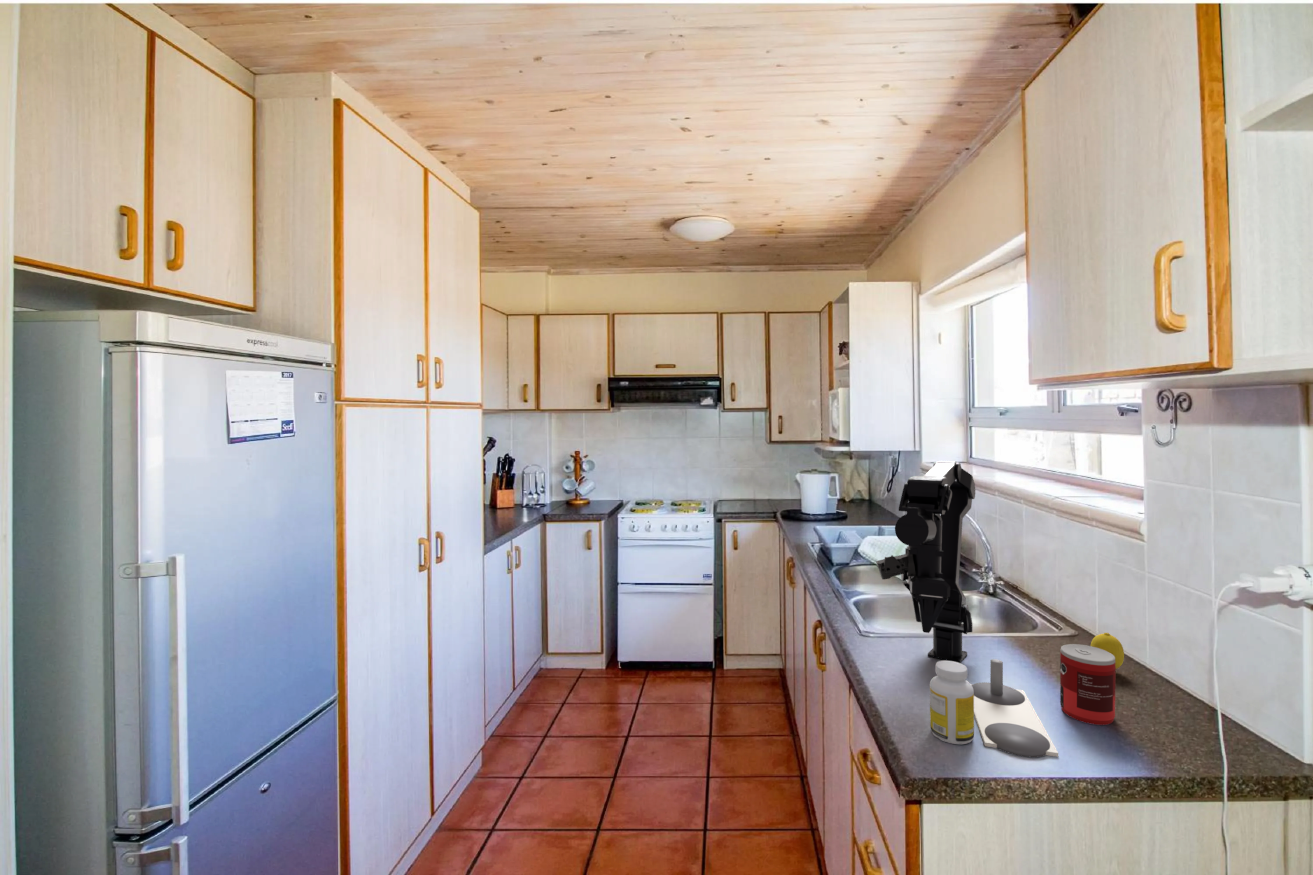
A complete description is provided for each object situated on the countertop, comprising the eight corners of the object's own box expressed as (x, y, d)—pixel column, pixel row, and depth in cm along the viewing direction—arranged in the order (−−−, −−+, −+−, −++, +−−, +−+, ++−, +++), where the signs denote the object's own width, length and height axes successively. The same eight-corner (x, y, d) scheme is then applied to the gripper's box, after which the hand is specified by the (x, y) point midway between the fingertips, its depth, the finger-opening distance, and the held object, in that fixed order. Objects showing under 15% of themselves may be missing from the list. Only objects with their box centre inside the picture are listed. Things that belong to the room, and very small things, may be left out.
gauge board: (963, 682, 117) (963, 649, 117) (1021, 689, 114) (1021, 655, 114) (986, 750, 94) (986, 708, 94) (1061, 762, 90) (1061, 718, 90)
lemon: (1095, 675, 119) (1095, 636, 119) (1085, 664, 125) (1086, 626, 124) (1128, 679, 118) (1129, 639, 117) (1117, 667, 123) (1117, 629, 123)
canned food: (1078, 700, 110) (1078, 640, 109) (1126, 720, 102) (1126, 657, 102) (1049, 708, 107) (1049, 647, 106) (1096, 729, 99) (1096, 664, 99)
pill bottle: (980, 735, 98) (980, 665, 98) (965, 751, 94) (965, 678, 94) (939, 721, 103) (939, 654, 103) (923, 735, 99) (923, 666, 98)
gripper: (876, 536, 125) (874, 612, 124) (883, 543, 107) (880, 632, 106) (934, 540, 122) (932, 618, 121) (951, 549, 104) (949, 641, 103)
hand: (922, 626), depth 113 cm, fingers open, 9 cm apart
